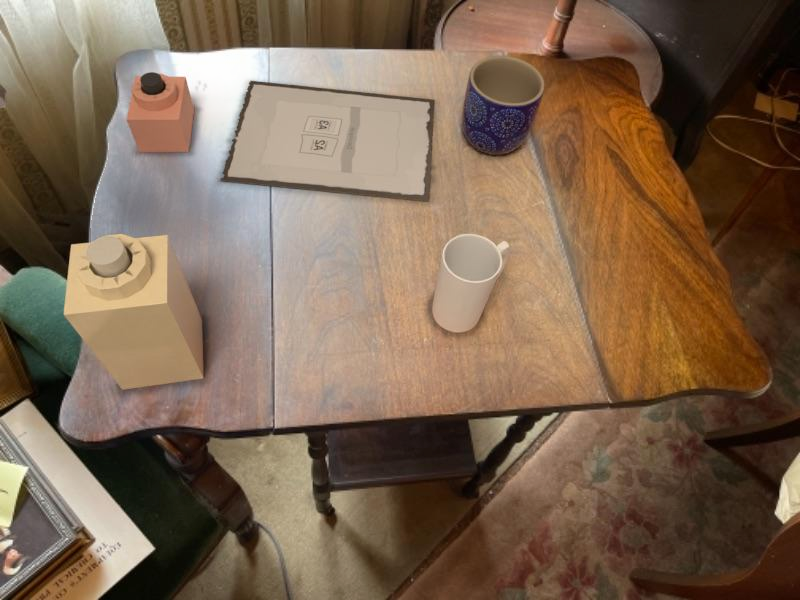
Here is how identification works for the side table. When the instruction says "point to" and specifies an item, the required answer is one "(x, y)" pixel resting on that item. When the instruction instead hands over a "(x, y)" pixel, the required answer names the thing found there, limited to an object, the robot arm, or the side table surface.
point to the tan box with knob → (137, 314)
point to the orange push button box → (162, 116)
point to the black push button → (152, 83)
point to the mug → (466, 280)
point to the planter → (501, 103)
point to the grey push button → (108, 256)
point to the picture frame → (333, 141)
